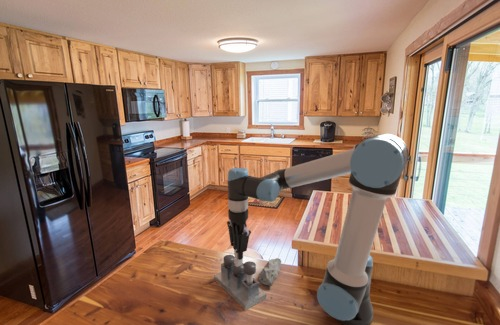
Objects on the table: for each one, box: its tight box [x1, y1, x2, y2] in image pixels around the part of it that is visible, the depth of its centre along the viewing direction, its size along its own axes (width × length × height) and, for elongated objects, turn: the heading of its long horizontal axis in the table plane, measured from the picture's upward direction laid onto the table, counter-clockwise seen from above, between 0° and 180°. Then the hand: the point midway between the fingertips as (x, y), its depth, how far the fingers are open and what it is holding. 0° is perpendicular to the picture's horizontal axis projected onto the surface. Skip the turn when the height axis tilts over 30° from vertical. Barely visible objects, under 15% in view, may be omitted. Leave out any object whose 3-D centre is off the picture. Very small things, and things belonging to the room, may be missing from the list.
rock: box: [258, 258, 282, 287], centre depth 113 cm, size 16×7×7 cm, turn 156°
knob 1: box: [223, 254, 235, 268], centre depth 110 cm, size 5×5×10 cm
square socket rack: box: [214, 262, 267, 311], centre depth 105 cm, size 22×10×7 cm, turn 38°
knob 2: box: [233, 262, 245, 276], centre depth 104 cm, size 5×5×10 cm
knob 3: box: [243, 261, 257, 286], centre depth 98 cm, size 5×5×10 cm
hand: (238, 264), depth 103 cm, fingers closed
